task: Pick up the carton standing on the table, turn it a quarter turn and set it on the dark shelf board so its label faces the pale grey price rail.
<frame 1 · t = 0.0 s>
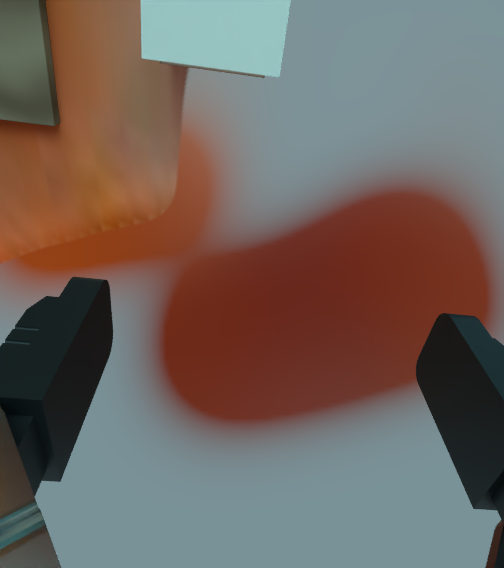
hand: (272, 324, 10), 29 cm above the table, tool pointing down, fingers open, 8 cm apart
carton: (222, 20, 32), on the table
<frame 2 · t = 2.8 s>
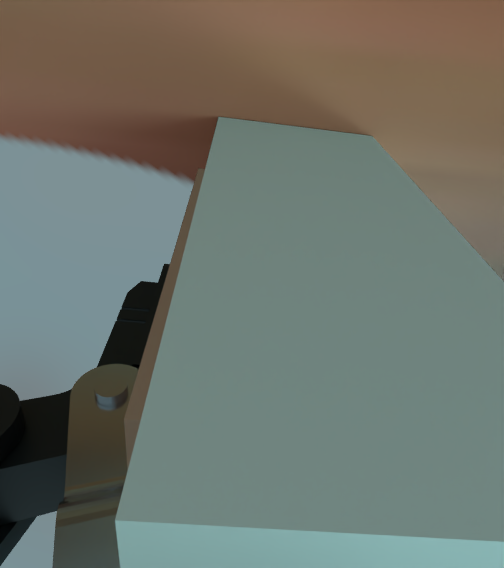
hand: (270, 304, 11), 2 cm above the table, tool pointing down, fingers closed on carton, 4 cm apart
carton: (273, 259, 13), on the table, touching gripper
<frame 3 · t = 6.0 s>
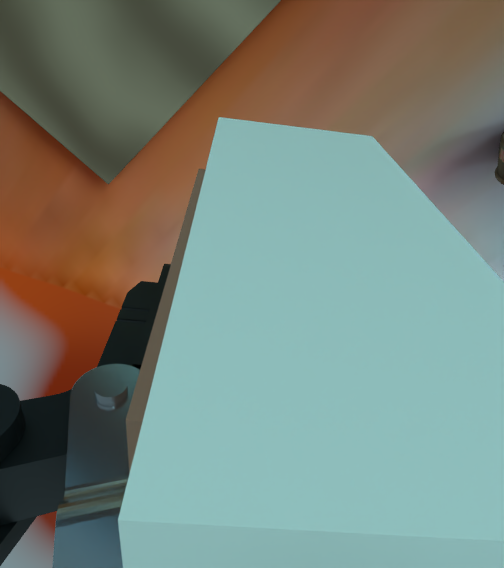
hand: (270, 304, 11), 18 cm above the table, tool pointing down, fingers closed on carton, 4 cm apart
carton: (273, 260, 13), point 16 cm above the table, touching gripper
when the fingers open (5 cm above the table, at t = 8.9 s): carton drops 1 cm, resting on shelf board.
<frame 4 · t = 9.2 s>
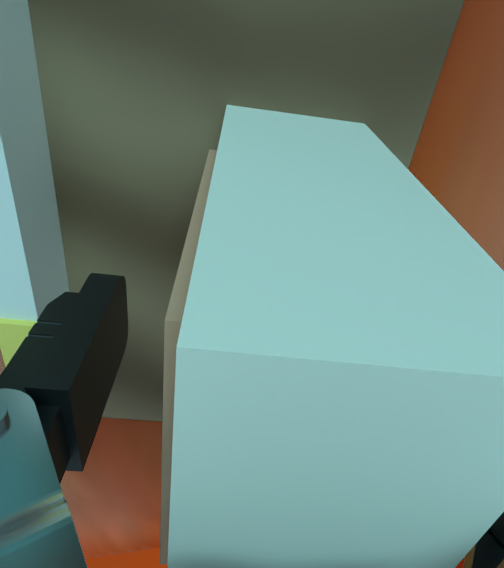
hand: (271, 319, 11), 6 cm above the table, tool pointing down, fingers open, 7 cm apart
shelf board: (209, 216, 15), on the table
price rail: (20, 232, 13), on the shelf board, point 3 cm above the table
carton: (274, 238, 14), point 1 cm above the table, touching shelf board
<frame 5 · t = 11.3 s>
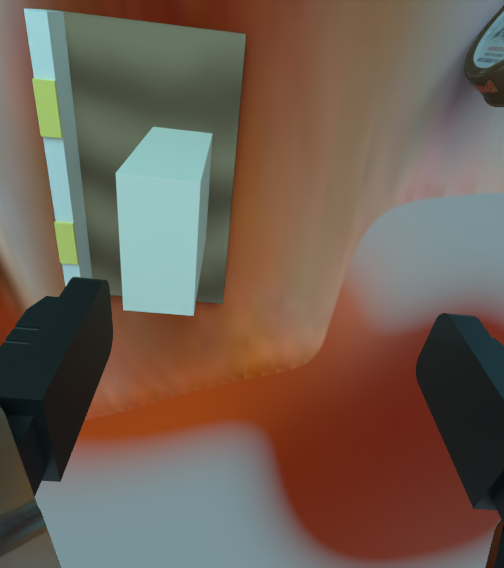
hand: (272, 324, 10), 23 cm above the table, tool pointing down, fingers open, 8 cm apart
shelf board: (152, 178, 32), on the table
price rail: (66, 183, 29), on the shelf board, point 3 cm above the table
carton: (181, 187, 31), point 1 cm above the table, touching shelf board
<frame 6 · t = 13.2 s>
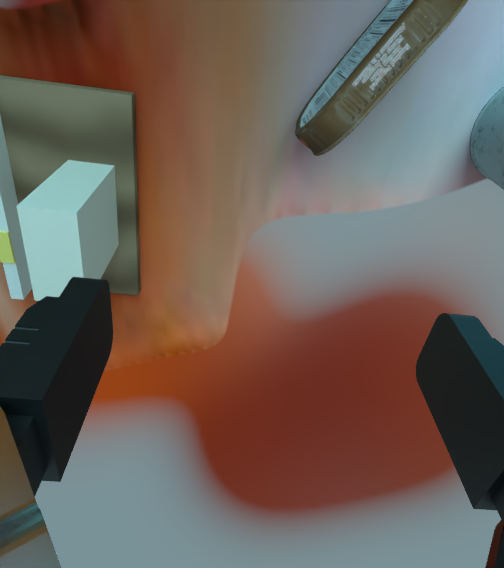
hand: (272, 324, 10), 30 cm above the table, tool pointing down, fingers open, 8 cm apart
shelf board: (74, 197, 40), on the table
tin: (360, 54, 34), on the table
price rail: (2, 201, 38), on the shelf board, point 3 cm above the table
carton: (94, 204, 39), point 1 cm above the table, touching shelf board
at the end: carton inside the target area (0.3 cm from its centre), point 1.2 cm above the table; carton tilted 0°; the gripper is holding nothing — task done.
